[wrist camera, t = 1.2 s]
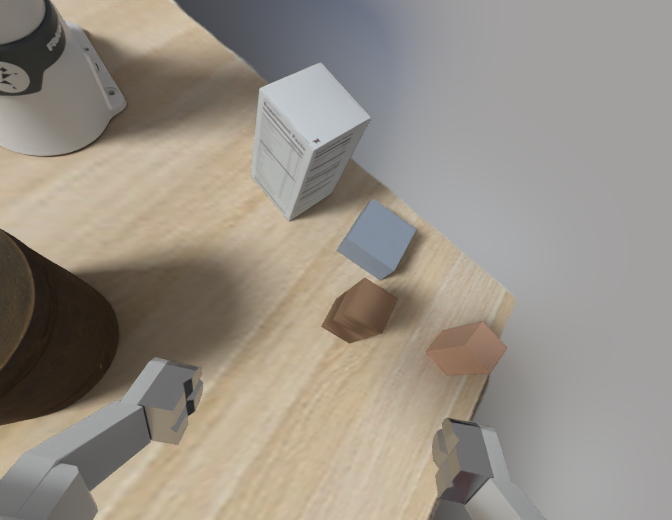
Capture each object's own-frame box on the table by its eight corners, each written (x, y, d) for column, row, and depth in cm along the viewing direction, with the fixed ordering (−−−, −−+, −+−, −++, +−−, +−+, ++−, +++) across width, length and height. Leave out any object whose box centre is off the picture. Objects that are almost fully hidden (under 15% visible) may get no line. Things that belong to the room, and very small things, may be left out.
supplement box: (333, 193, 53) (375, 119, 38) (288, 223, 49) (316, 153, 34) (295, 149, 54) (321, 58, 39) (248, 174, 50) (257, 85, 35)
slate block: (336, 250, 50) (346, 237, 46) (360, 213, 54) (372, 198, 49) (379, 280, 51) (394, 270, 46) (400, 241, 54) (416, 229, 50)
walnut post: (321, 326, 46) (347, 311, 36) (336, 299, 48) (364, 277, 38) (349, 343, 46) (382, 333, 36) (362, 315, 48) (397, 298, 38)
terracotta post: (425, 351, 49) (464, 345, 41) (442, 330, 51) (483, 321, 43) (446, 374, 49) (490, 373, 41) (462, 353, 51) (507, 347, 43)
